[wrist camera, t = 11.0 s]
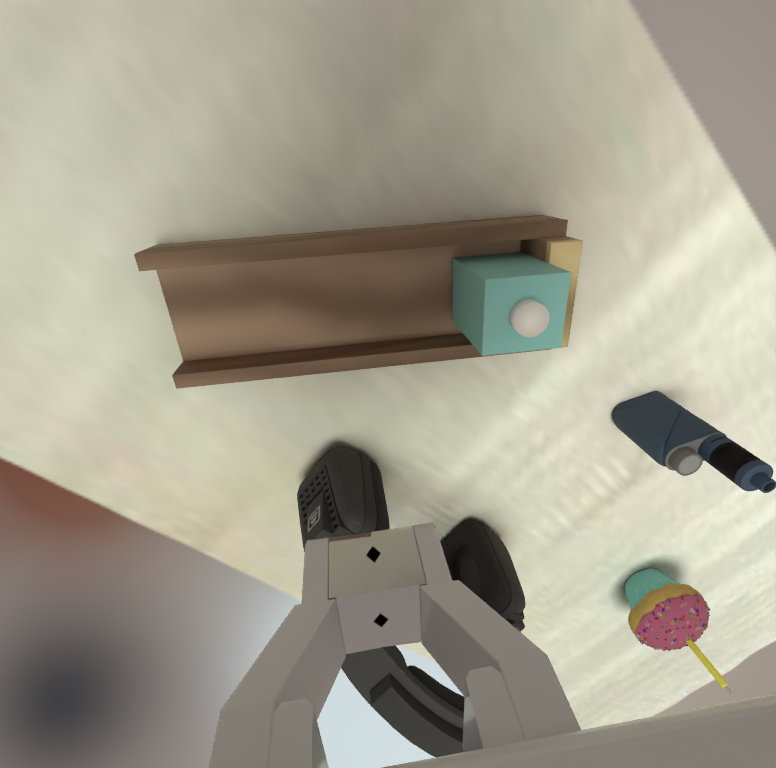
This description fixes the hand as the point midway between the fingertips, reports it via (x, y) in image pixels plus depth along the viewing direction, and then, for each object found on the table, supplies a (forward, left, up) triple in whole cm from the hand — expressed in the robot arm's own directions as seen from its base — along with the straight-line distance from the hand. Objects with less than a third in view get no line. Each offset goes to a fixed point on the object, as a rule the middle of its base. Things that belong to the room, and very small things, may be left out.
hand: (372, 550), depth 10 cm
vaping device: (+13, +26, -24) cm, 38 cm away
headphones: (+22, +4, -25) cm, 33 cm away
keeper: (0, +10, -23) cm, 25 cm away
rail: (0, +2, -24) cm, 24 cm away
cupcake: (+38, +32, -25) cm, 55 cm away
